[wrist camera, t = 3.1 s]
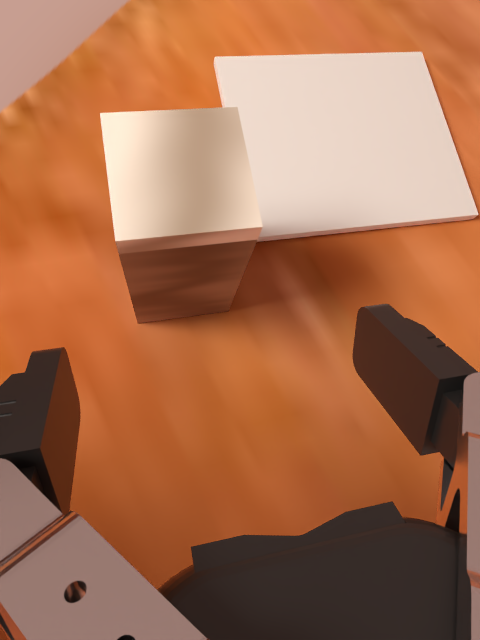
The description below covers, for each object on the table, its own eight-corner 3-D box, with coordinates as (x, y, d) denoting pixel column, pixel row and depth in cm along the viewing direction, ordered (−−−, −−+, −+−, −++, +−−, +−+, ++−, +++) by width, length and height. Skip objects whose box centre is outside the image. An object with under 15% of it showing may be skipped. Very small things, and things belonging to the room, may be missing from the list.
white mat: (249, 242, 26) (251, 237, 26) (213, 64, 30) (214, 56, 29) (472, 219, 29) (478, 214, 29) (417, 58, 32) (421, 51, 32)
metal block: (137, 323, 24) (115, 241, 15) (127, 239, 25) (100, 113, 16) (228, 311, 25) (262, 226, 16) (213, 230, 26) (237, 106, 17)
